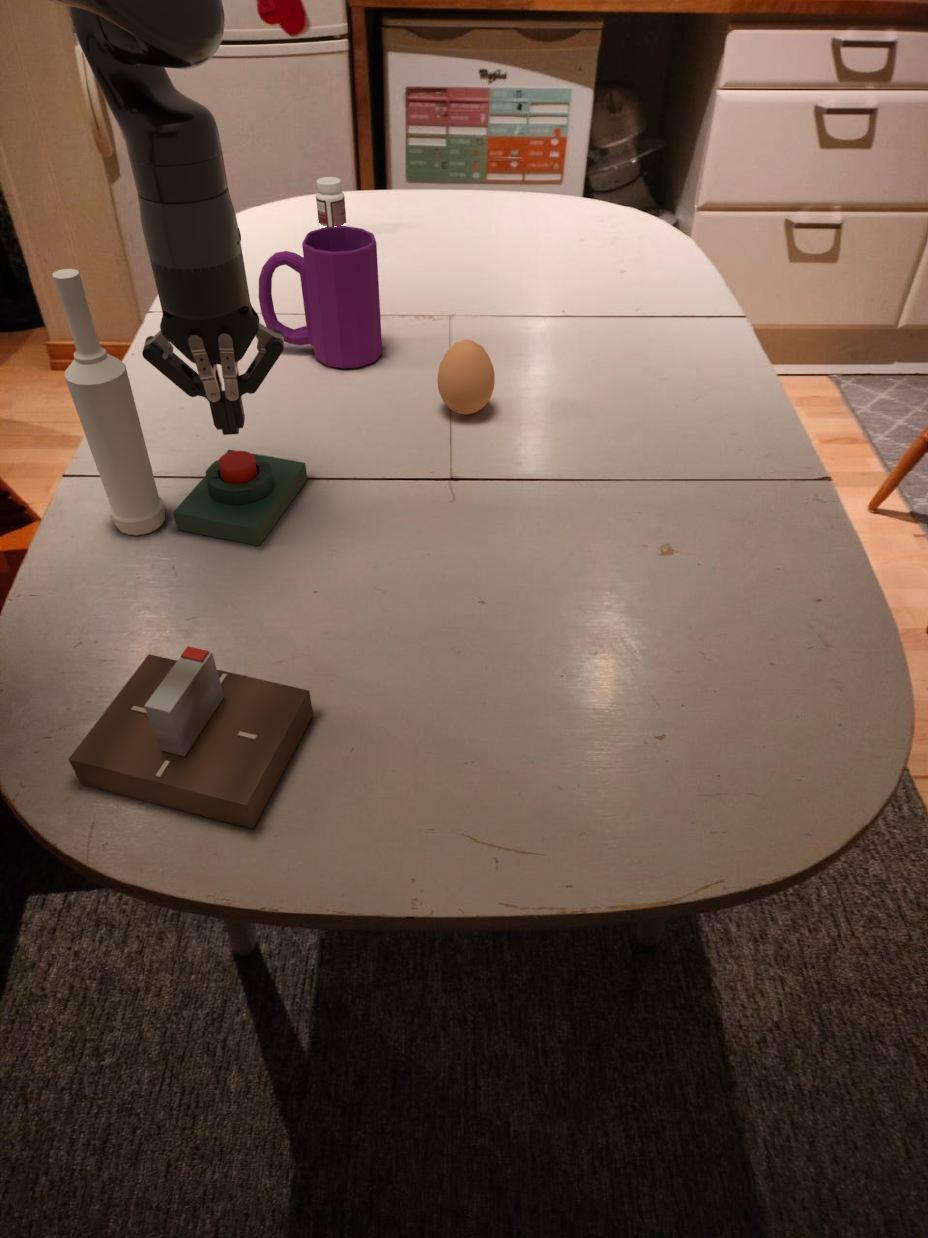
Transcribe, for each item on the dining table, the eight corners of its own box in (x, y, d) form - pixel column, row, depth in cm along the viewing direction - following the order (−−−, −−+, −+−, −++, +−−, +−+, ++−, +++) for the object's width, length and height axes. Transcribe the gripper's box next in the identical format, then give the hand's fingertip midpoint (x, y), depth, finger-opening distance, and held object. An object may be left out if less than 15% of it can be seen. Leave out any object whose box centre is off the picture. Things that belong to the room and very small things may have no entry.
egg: (494, 426, 100) (497, 355, 94) (437, 425, 100) (437, 354, 94) (492, 397, 105) (495, 328, 99) (437, 397, 105) (437, 328, 99)
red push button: (247, 487, 84) (244, 472, 83) (214, 481, 85) (211, 466, 84) (263, 468, 87) (260, 453, 86) (231, 462, 87) (228, 447, 86)
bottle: (109, 513, 87) (27, 267, 69) (160, 500, 88) (93, 257, 71) (119, 542, 83) (36, 290, 66) (172, 528, 85) (104, 279, 68)
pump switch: (259, 546, 83) (253, 513, 81) (177, 530, 85) (168, 497, 82) (307, 479, 92) (303, 447, 89) (232, 466, 93) (225, 434, 91)
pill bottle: (348, 228, 147) (344, 175, 141) (346, 238, 144) (341, 184, 138) (320, 227, 147) (316, 175, 141) (317, 237, 144) (312, 184, 138)
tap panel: (80, 784, 63) (67, 758, 61) (157, 678, 70) (148, 652, 68) (253, 829, 60) (246, 804, 58) (313, 715, 68) (309, 688, 66)
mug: (378, 372, 110) (371, 254, 99) (259, 367, 110) (240, 249, 100) (386, 340, 116) (380, 226, 106) (274, 335, 117) (258, 221, 106)
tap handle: (185, 757, 61) (168, 710, 57) (160, 750, 61) (142, 703, 58) (224, 696, 65) (211, 649, 61) (201, 691, 65) (187, 643, 62)
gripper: (105, 268, 67) (157, 456, 79) (274, 261, 68) (300, 446, 80) (118, 234, 72) (165, 415, 84) (276, 228, 74) (300, 406, 86)
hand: (231, 430), depth 82 cm, fingers closed
